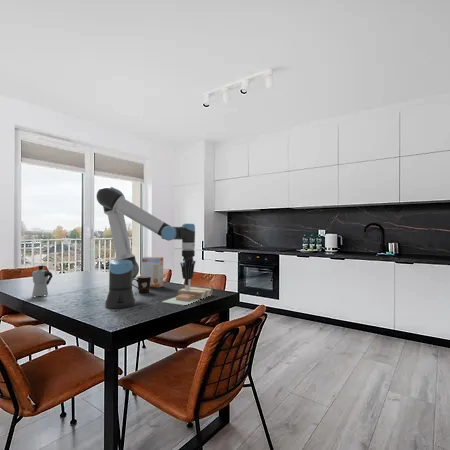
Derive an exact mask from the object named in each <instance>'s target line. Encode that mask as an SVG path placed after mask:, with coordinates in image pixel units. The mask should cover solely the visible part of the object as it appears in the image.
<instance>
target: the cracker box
mask: <svg viewBox="0 0 450 450" xmlns="http://www.w3.org/2000/svg"><path fill="white" fill-rule="evenodd" d="M141 276H151V281H150V288H162V287H164V257H162V256H143V257H142V256H141Z"/></svg>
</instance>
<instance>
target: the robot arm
mask: <svg viewBox="0 0 450 450" xmlns="http://www.w3.org/2000/svg"><path fill="white" fill-rule="evenodd" d="M96 201H97V202H98V204H99V205H101V206H102V208H103V213H104V214H105V215H106V216H107V218H108V223H109V228H110V232H111V237H112V242H113V248H114V253H115V258H114V259H113V260H112V261H111V262H110V263H109V268H108V270H109V272H108V273H109V274H108V275H109V278H108V279H109V281H108V293H107V298H106V300H105V301H104V307H105V308H108V309H127V308H130V307H134V306H135V305H136V298H135V295H134V292H133V285H132V284H133V281H132V280H133V279H136V278H137V277H138V275H139V271H140V267H139V264H138V262H137V260H136V255H135V254H133V253H132V250H131V249H132V248H131V243H130V238H129V233H128V230H127V224H126V219H125V216H126V217H127V218H129V219H130V220H132V221H134V222H136V224H138V225H141V226H142V227H143V228H146V229H148V230H149V231H152V232H153V233H155V234H156V235H158V236H159V237H160V238H161V239H162V240H166V241H169V242H170V241H173V240H176V241H177V240H181V257H183V259H182V261H181V262H180V266H181V267H180V268H181V276H182V279H183V280H184V288H185V290H188V291H189V290H190V287H191V280H192V279H193V276H194V273H195V272H194V271H195V266H196V265H195V264H196V260H194V257H195V255H196V252H195V248H196V247H195V246H196V244H195V243H196V225H195V224H194V223H182V225H181V226H172V225H170V224H168V223H166V222H164V221H163V220H161V219H160V218H158V217H157V216H154V215H153V214H151V213H149V212H148V211H146V210H144V209H142V207H139V206H138V205H136V204H134V203H132V202H131V201H129V200H127V199H126V198H125V195H124V193H123V192H122V191H121V190H119V189H117V188H114V187H113V186H109V185H106V186H103V187H102V186H101V187H100V188H99V189H98V190H97V192H96Z"/></svg>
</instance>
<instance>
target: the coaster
mask: <svg viewBox="0 0 450 450" xmlns="http://www.w3.org/2000/svg"><path fill="white" fill-rule="evenodd" d="M175 297H176V300H181V301H190V300H192V299H195V295H190V294H181V295H178V294H177V295H176V296H175Z"/></svg>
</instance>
